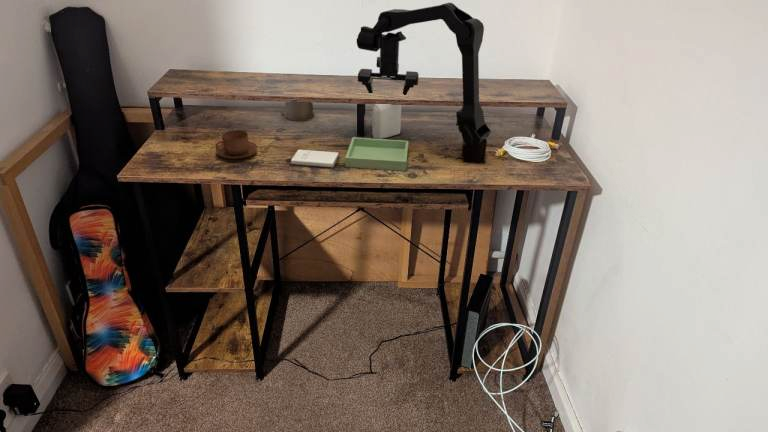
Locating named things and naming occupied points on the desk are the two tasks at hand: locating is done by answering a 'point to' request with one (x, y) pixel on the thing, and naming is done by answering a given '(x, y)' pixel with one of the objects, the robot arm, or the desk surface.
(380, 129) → the white rounded tower
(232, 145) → the cup and saucer
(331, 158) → the hard drive
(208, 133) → the desk surface
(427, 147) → the desk surface
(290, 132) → the desk surface
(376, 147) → the tray
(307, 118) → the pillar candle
